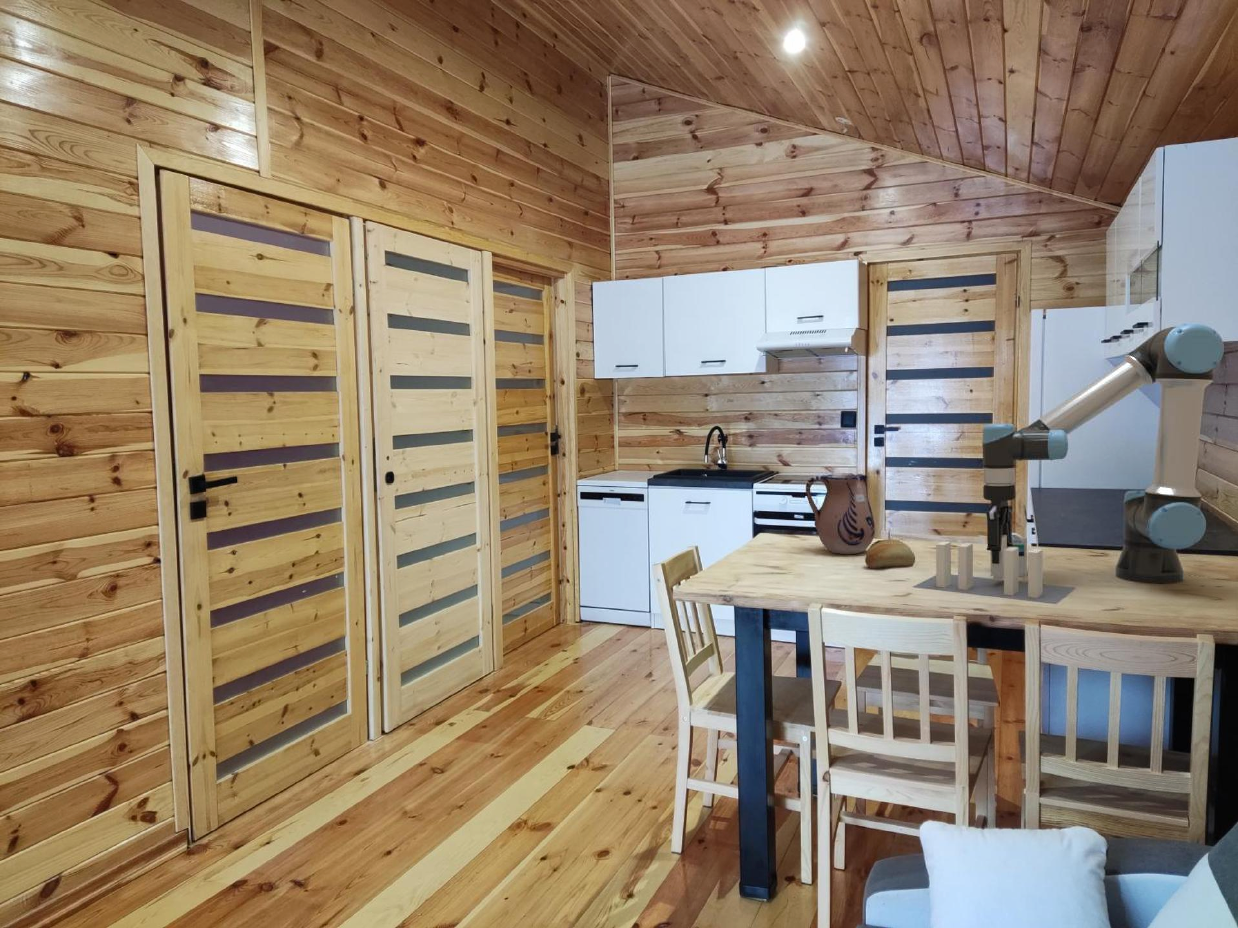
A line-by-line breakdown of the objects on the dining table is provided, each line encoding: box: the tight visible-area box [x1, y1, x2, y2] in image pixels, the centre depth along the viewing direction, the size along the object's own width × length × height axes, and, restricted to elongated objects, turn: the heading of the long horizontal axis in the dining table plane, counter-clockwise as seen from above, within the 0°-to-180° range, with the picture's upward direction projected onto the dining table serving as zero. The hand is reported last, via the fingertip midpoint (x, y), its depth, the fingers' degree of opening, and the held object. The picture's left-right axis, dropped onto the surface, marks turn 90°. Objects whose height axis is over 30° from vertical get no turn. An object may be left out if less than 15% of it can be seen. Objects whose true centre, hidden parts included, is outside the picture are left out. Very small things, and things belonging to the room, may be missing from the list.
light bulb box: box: [1012, 532, 1028, 577], centre depth 233 cm, size 11×7×11 cm, turn 168°
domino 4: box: [1003, 547, 1020, 595], centre depth 209 cm, size 2×5×11 cm, turn 140°
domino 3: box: [992, 535, 1007, 581], centre depth 219 cm, size 2×5×11 cm, turn 140°
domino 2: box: [957, 542, 974, 590], centre depth 216 cm, size 2×5×11 cm, turn 139°
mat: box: [912, 573, 1077, 605], centre depth 216 cm, size 34×20×1 cm, turn 50°
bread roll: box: [864, 539, 916, 568], centre depth 248 cm, size 10×15×8 cm, turn 100°
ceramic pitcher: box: [805, 472, 876, 555], centre depth 272 cm, size 18×21×25 cm
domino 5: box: [1027, 548, 1044, 598], centre depth 206 cm, size 2×5×11 cm, turn 140°
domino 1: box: [935, 541, 952, 587], centre depth 220 cm, size 2×5×11 cm, turn 140°
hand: (1000, 573), depth 220 cm, fingers closed on domino 3, 5 cm apart
